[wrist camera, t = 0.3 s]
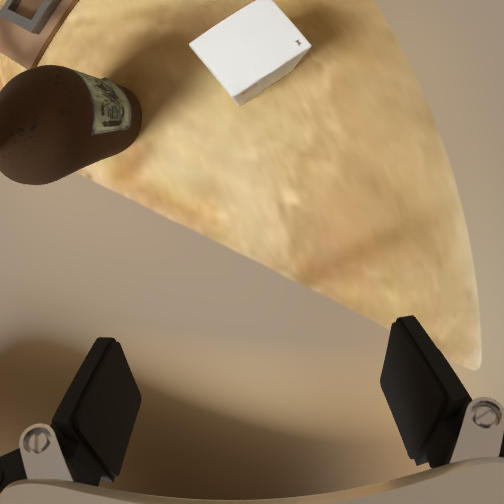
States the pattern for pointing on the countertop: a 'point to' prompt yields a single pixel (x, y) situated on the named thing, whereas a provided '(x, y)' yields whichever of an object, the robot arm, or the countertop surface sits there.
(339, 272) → the countertop surface
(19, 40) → the collar board
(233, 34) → the small box
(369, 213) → the countertop surface
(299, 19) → the countertop surface
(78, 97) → the olive oil
